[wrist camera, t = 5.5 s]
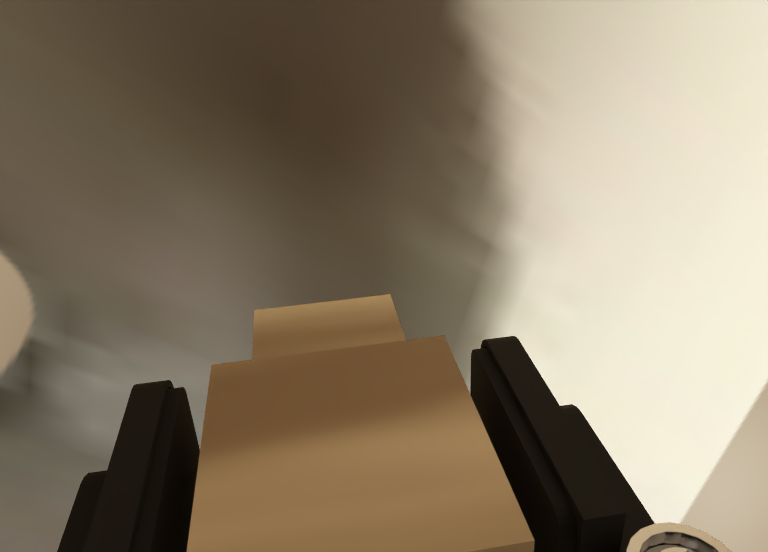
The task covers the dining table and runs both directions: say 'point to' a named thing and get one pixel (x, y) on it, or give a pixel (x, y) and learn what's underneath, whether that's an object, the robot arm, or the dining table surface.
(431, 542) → the bolt
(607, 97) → the dining table surface
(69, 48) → the dining table surface
